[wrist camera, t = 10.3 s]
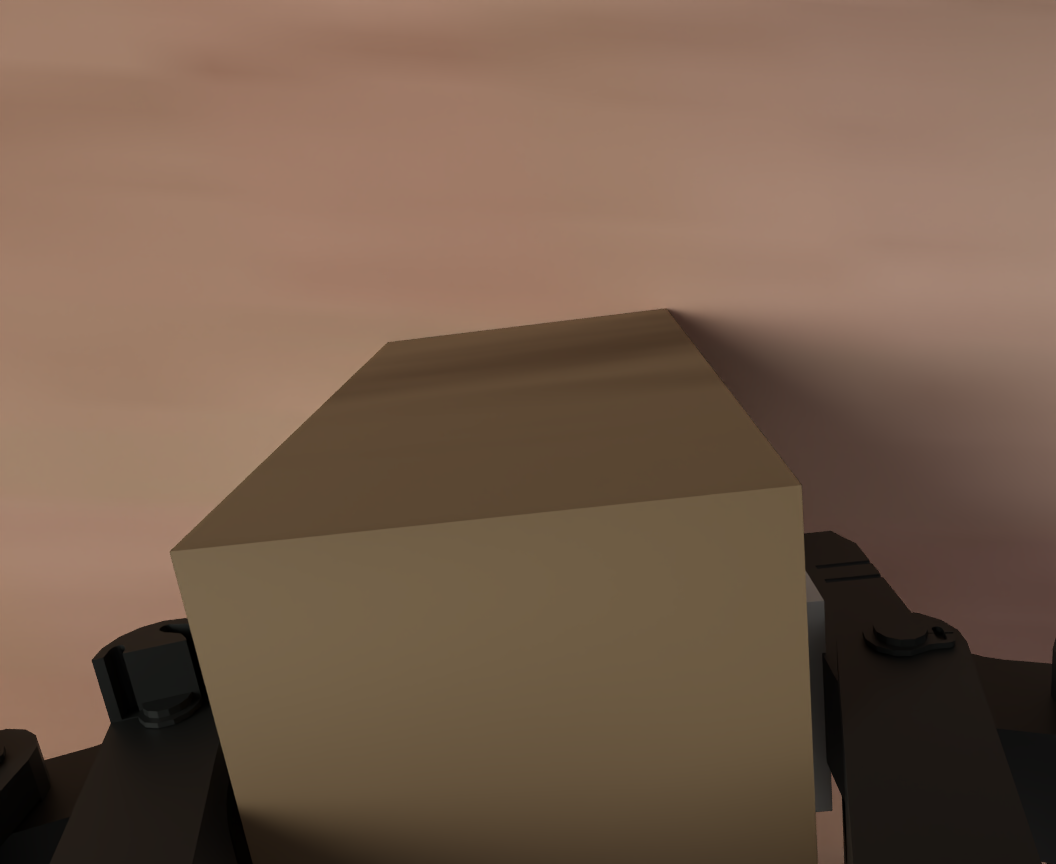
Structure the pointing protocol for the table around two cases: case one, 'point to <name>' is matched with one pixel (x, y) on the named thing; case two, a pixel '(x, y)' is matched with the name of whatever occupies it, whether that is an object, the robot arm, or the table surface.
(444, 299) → the table surface
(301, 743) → the tan block on stick
